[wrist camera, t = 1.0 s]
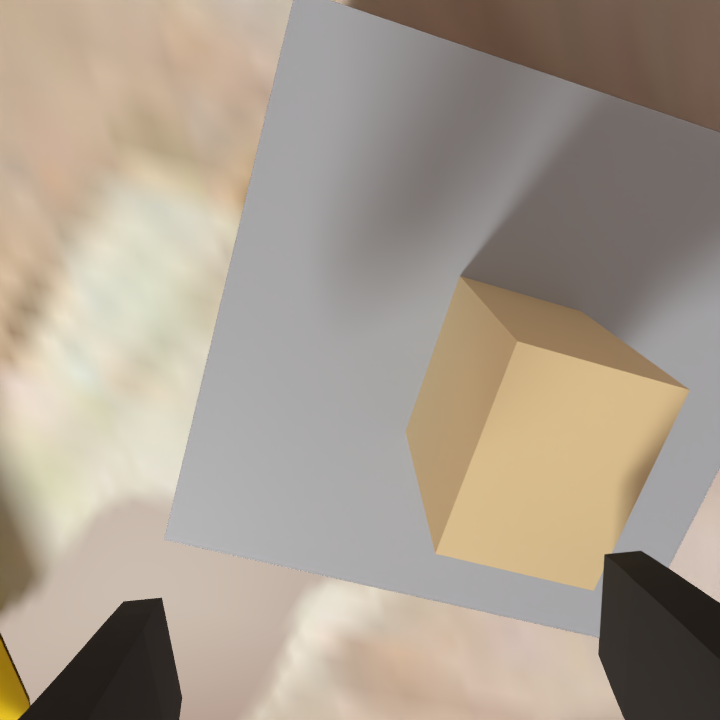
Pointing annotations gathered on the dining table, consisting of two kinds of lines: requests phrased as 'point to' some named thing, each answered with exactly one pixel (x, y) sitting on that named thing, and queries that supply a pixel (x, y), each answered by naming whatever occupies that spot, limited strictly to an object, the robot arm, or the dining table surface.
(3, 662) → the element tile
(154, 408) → the dining table surface
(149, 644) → the robot arm
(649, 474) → the lid
